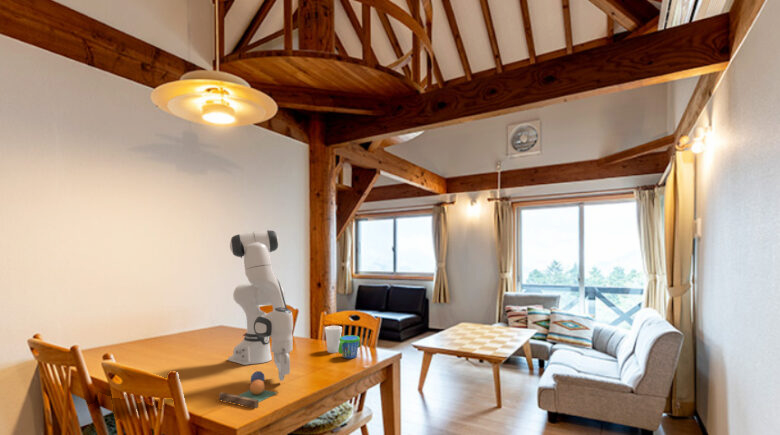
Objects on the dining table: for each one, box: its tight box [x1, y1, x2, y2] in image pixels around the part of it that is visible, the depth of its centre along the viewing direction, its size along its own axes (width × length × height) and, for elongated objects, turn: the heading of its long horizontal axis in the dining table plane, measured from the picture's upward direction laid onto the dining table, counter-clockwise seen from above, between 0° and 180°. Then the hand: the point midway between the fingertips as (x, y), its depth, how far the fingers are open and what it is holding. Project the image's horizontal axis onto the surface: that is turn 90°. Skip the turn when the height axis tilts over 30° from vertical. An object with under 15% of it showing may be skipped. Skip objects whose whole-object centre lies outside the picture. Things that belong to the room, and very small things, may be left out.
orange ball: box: [249, 379, 266, 395], centre depth 154 cm, size 6×6×6 cm
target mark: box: [237, 389, 278, 403], centre depth 153 cm, size 12×12×1 cm
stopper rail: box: [218, 392, 259, 409], centre depth 145 cm, size 18×2×2 cm, turn 65°
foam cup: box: [324, 325, 343, 354], centre depth 219 cm, size 10×9×13 cm
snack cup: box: [337, 334, 361, 359], centre depth 207 cm, size 16×11×10 cm
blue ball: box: [250, 370, 265, 383], centre depth 165 cm, size 6×6×6 cm
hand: (281, 379), depth 167 cm, fingers closed
